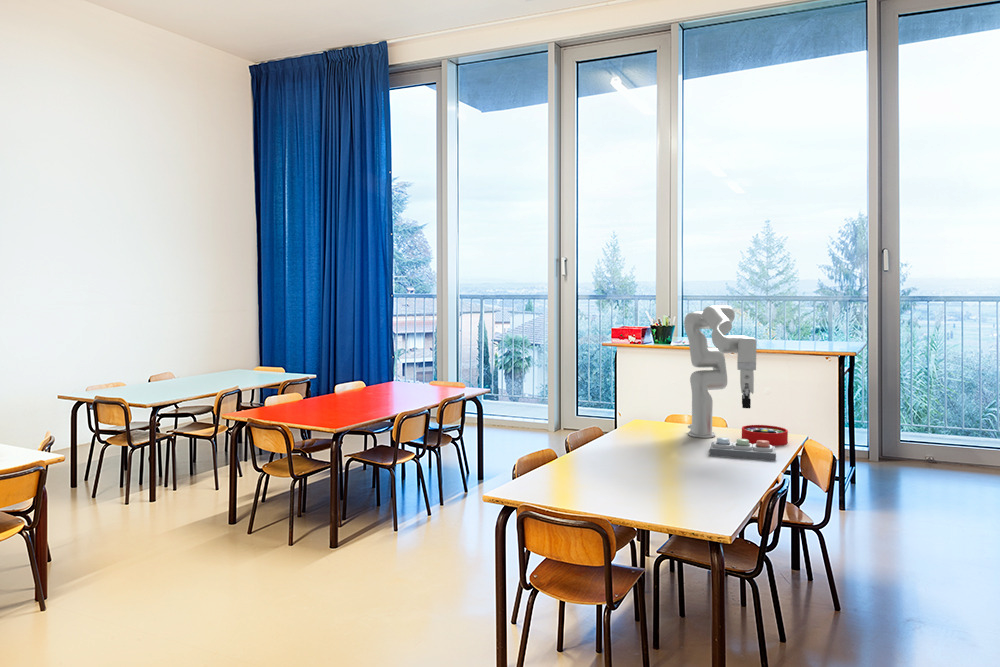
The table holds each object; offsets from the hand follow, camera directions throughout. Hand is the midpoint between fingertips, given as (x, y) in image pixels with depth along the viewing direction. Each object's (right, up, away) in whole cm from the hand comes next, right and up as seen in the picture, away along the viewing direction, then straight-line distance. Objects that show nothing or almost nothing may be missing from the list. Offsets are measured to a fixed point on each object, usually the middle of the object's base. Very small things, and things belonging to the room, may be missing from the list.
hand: (746, 406), depth 289 cm
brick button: (+7, -17, -1) cm, 18 cm away
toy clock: (+18, -20, +27) cm, 38 cm away
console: (-1, -21, +2) cm, 21 cm away
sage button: (-1, -17, +2) cm, 17 cm away
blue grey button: (-8, -17, +4) cm, 19 cm away
